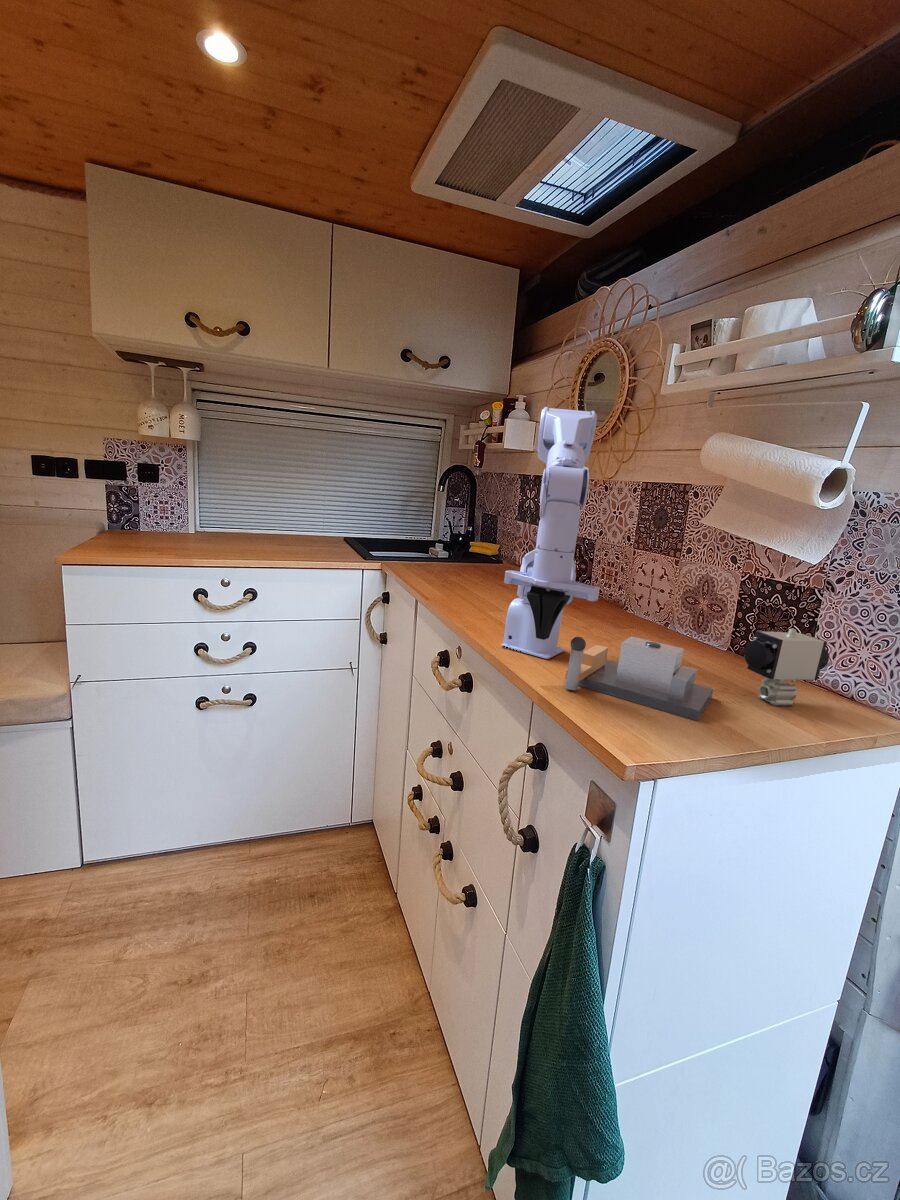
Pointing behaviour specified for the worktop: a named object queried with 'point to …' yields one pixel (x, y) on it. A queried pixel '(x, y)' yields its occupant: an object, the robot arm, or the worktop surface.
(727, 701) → the worktop surface
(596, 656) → the ball knob lever
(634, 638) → the block
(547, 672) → the worktop surface
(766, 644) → the pneumatic valve
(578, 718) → the worktop surface
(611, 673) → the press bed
